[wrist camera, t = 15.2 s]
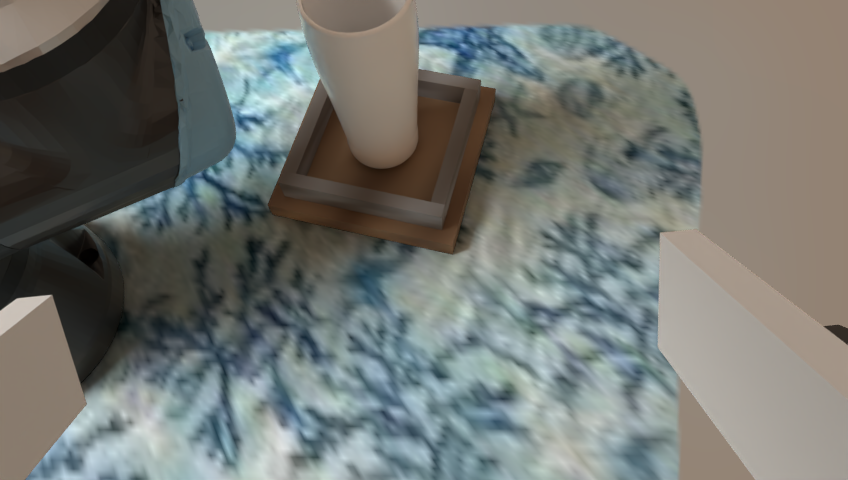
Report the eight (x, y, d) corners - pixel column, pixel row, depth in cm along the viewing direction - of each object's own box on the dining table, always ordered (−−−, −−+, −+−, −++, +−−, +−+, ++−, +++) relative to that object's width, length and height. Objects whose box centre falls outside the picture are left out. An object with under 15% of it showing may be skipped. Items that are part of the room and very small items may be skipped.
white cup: (353, 101, 52) (313, -59, 38) (436, 113, 51) (426, -47, 37) (329, 173, 49) (278, 28, 36) (417, 187, 48) (399, 44, 35)
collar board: (273, 214, 50) (259, 191, 46) (331, 71, 55) (323, 42, 52) (452, 254, 47) (451, 233, 44) (494, 100, 53) (496, 72, 50)
